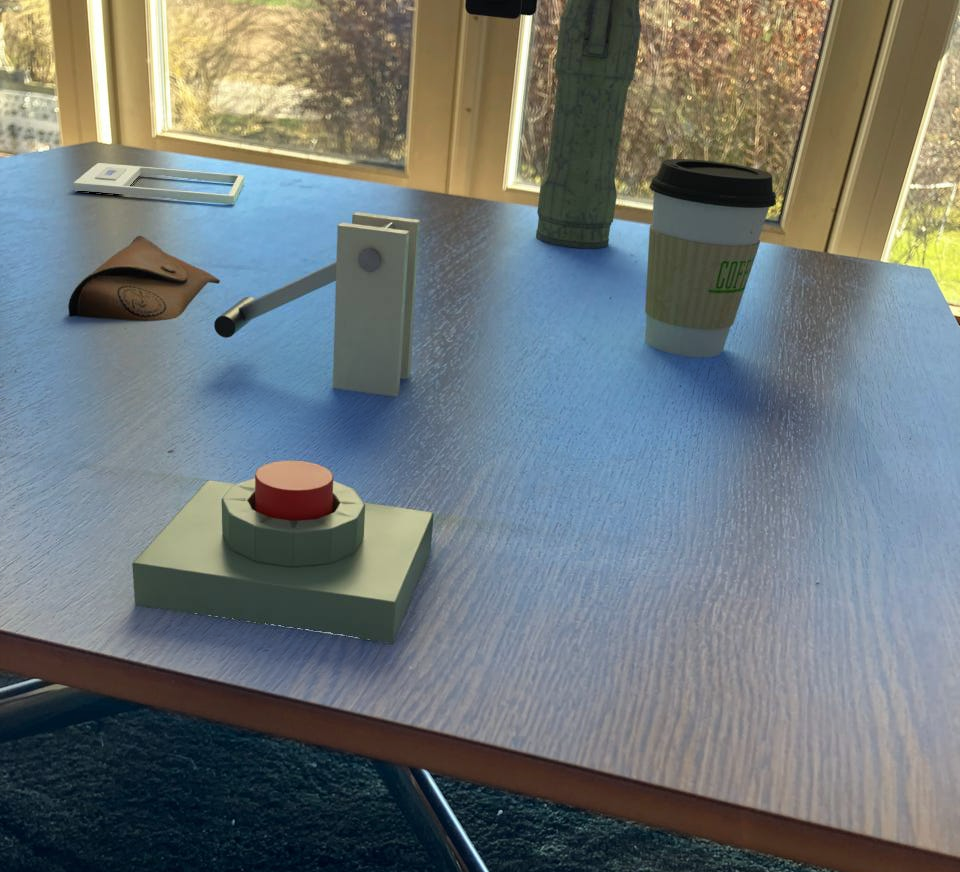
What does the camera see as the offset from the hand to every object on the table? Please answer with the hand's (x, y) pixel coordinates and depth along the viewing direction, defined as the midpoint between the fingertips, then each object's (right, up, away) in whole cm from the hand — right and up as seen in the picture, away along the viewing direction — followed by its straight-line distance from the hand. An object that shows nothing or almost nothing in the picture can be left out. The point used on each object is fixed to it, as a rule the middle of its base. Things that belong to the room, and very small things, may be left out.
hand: (502, 14), depth 70 cm
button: (-10, -32, -16) cm, 38 cm away
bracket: (-9, -22, +9) cm, 25 cm away
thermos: (+10, +9, +64) cm, 66 cm away
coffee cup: (+15, -15, +25) cm, 33 cm away
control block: (-11, -35, -14) cm, 40 cm away
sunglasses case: (-28, -11, +23) cm, 38 cm away
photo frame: (-40, +16, +68) cm, 80 cm away
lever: (-12, -16, +6) cm, 21 cm away
